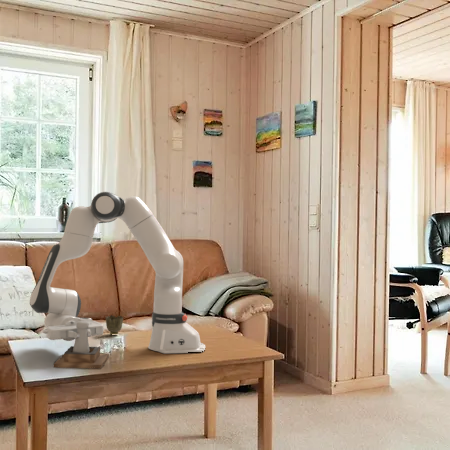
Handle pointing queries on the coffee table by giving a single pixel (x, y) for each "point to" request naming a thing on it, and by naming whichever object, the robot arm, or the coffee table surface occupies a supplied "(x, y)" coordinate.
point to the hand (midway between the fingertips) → (83, 335)
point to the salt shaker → (82, 338)
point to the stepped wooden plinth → (82, 359)
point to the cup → (114, 324)
